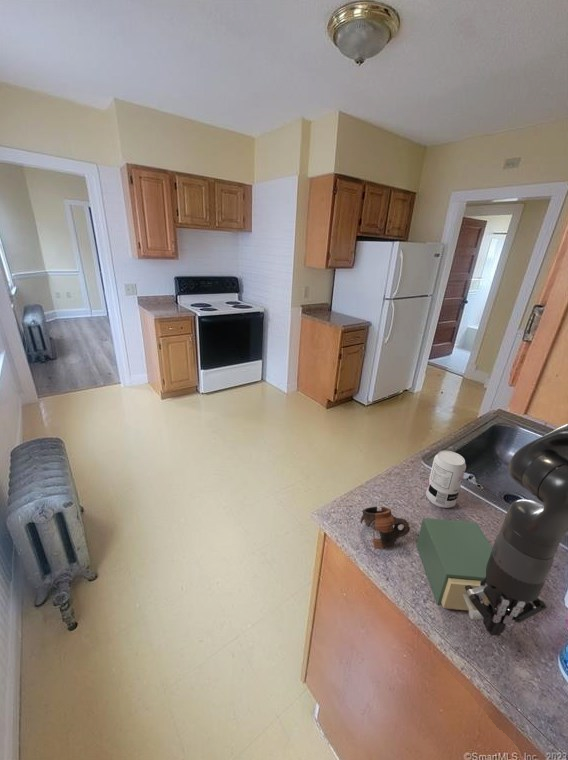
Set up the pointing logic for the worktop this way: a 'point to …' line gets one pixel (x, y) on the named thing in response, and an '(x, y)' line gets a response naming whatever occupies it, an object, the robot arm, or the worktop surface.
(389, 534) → the pottery mug
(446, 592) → the drawer
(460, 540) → the cabinet
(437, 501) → the supplement can
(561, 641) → the worktop surface
